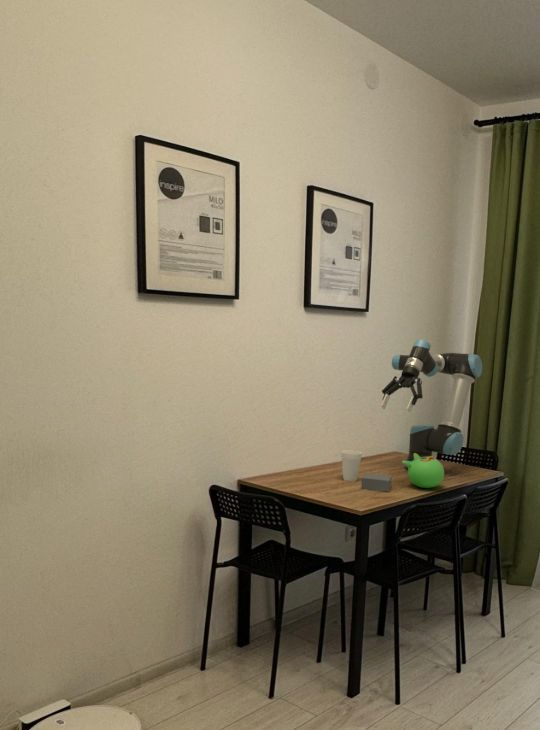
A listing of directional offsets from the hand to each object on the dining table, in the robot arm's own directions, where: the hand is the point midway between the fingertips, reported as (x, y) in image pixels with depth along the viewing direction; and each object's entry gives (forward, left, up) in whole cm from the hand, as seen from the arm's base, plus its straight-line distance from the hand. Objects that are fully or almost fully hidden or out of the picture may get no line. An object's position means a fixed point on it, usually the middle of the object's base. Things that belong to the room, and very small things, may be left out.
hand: (395, 409), depth 278 cm
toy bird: (-9, +14, -36) cm, 39 cm away
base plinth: (+3, -6, -35) cm, 36 cm away
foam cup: (-7, -19, -36) cm, 41 cm away
